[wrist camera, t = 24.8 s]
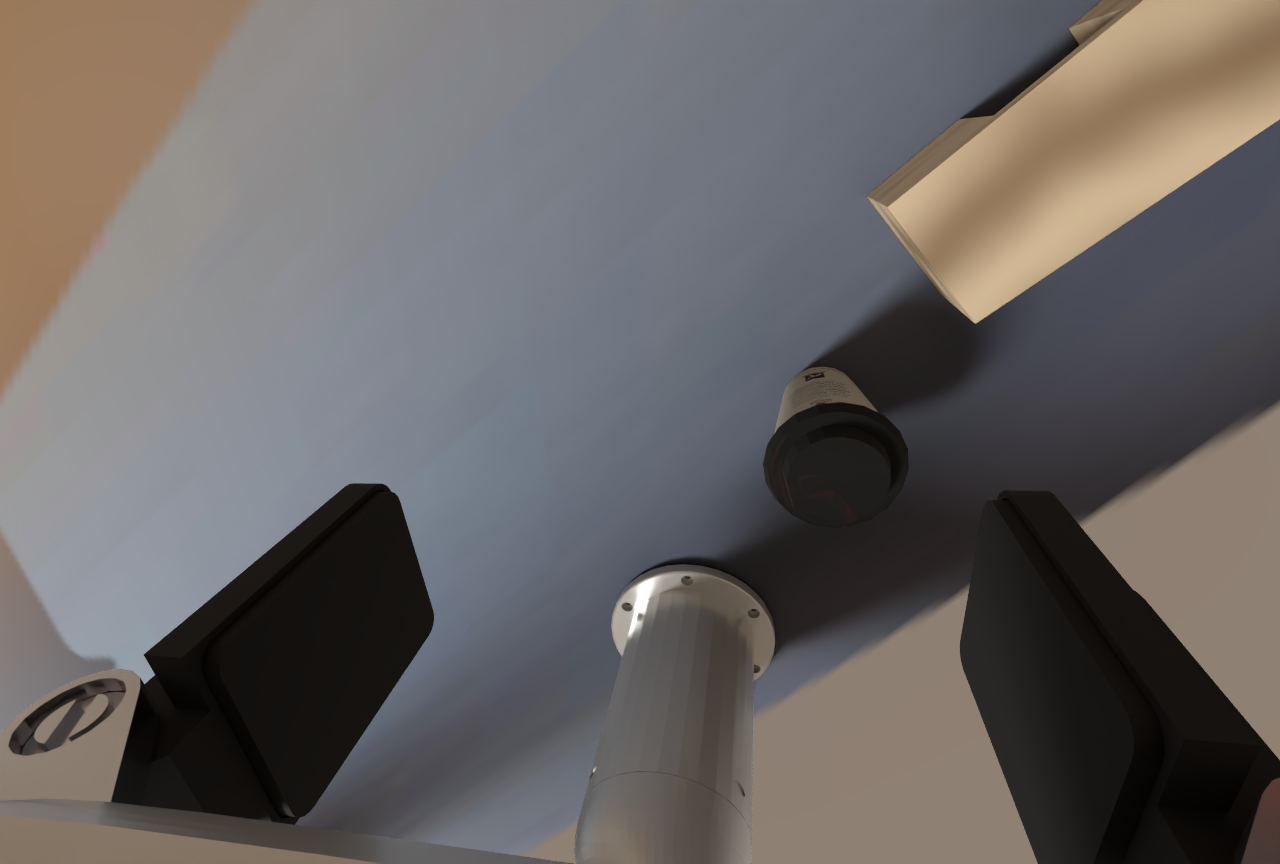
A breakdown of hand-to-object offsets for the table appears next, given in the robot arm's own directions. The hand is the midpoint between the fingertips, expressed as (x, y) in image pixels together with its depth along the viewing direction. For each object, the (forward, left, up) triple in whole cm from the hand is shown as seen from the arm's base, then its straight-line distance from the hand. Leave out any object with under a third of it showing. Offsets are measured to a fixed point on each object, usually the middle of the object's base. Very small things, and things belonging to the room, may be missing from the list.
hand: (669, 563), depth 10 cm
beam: (+5, -15, -28) cm, 33 cm away
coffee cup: (-9, -5, -28) cm, 30 cm away
